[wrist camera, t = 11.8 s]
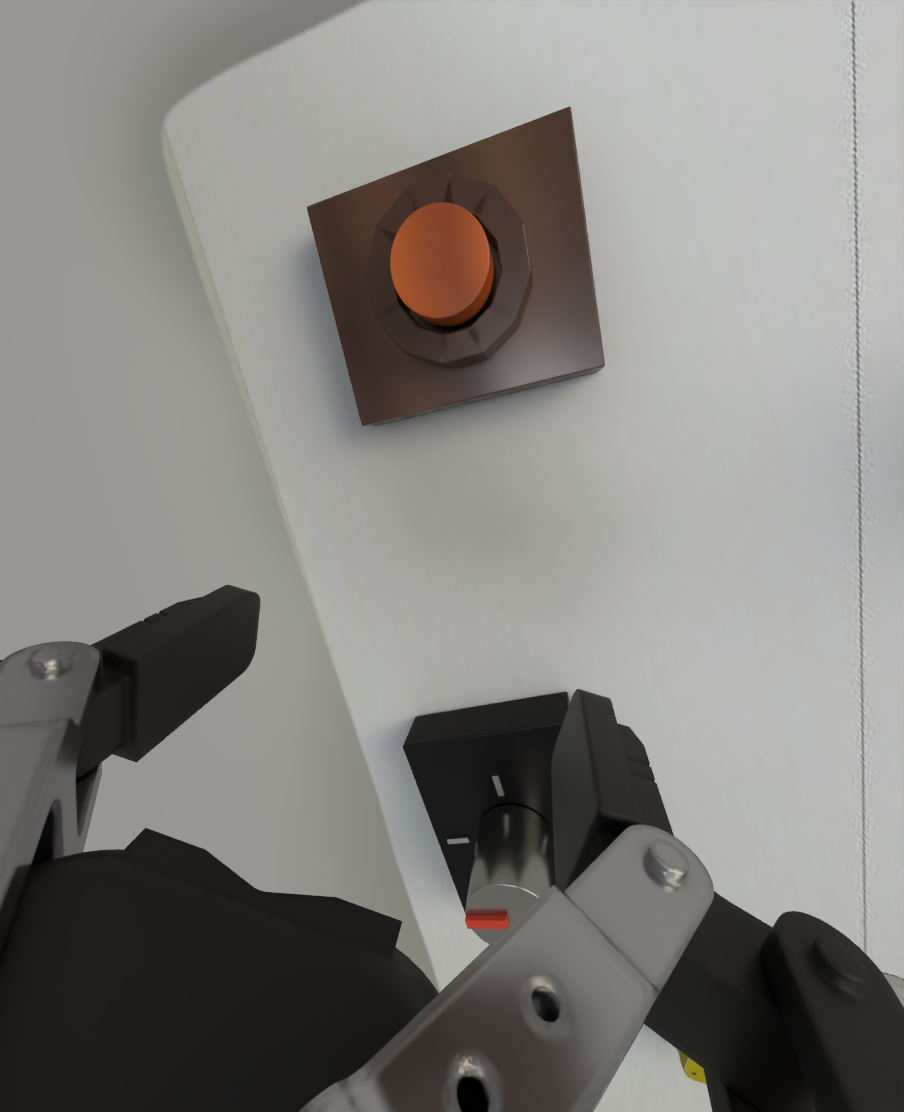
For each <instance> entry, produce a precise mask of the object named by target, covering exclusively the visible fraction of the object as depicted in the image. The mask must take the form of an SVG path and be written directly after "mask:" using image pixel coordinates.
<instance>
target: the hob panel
mask: <svg viewBox="0 0 904 1112" xmlns="http://www.w3.org/2000/svg"><path fill="white" fill-rule="evenodd" d="M569 705H570V700H569V697H568V693H567V692H563V693H557V694H551V695H545V696H539V697H533V698H527V699H521V700H515V701H509V702H503V703H497V704H491V705H485V706H479V707H473V708H467V709H461V710H455V711H449V712H443V713H437V714H431V715H425V716H419V717H416V718H415V720H414V722H413V724H412V727H411V729H410V731H409V733H408V736H407V738H406V740H405V743H404V745H403V749H404V751H405V754H406V757H407V759H408V762H409V765H410V767H411V770H412V773H413V775H414V778H415V781H416V783H417V786H418V789H419V791H420V794H421V797H422V799H423V802H424V805H425V807H426V810H427V813H428V815H429V818H430V821H431V823H432V826H433V829H434V831H435V834H436V836H437V839H438V842H439V844H440V847H441V850H442V852H443V855H444V858H445V860H446V863H447V866H448V868H449V871H450V874H451V876H452V879H453V882H454V884H455V887H456V890H457V892H458V895H459V898H460V900H461V903H462V906H463V908H464V911H465V914H466V910H465V908H466V902H467V895H468V889H469V883H470V877H471V870H472V864H473V858H474V852H475V846H476V839H477V833H478V827H479V823H480V820H481V819H482V817H483V816H484V815H485V814H486V813H487V812H488V811H489V810H491V809H493V808H495V807H498V806H502V805H517V806H522V807H525V808H528V809H530V810H532V811H534V812H535V813H537V814H538V815H539V816H541V817H542V818H543V819H544V821H545V822H546V823H547V825H548V826H549V828H550V830H551V834H552V847H553V885H555V860H554V834H553V808H552V783H551V764H552V757H553V752H554V748H555V744H556V741H557V738H558V735H559V733H560V730H561V727H562V724H563V722H564V719H565V716H566V713H567V710H568V708H569Z"/></svg>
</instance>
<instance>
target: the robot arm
mask: <svg viewBox="0 0 904 1112" xmlns="http://www.w3.org/2000/svg"><path fill="white" fill-rule="evenodd" d="M259 612H260V597H259V595H258V594H257V593H255V592H251V591H248V590H244V589H241V588H238V587H234V586H231V585H226V586H223V587H221V588H219V589H217V590H216V591H213V592H211V593H209V594H208V595H206V596H204V597H200V598H195V599H191V600H187V601H182V602H178V603H176V604H174V605H172V606H170V607H168V608H166V609H164V610H162V611H160V612H159V614H157V613H156V614H153V615H151V616H149V617H148V618H145V619H144V621H139V622H137V623H135V624H133V625H131V626H129V627H127V628H125V629H123V630H121V631H119V632H117V633H115V634H113V635H111V636H109V637H107V638H104V639H103V640H101V641H98V642H96V643H94V644H92V645H88V644H84V643H80V642H70V641H60V642H49V643H43V644H38V645H34V646H30V647H27V648H24V649H21V650H19V651H17V652H15V653H13V654H11V655H10V656H8V657H6V658H5V659H4V660H0V1112H594V1110H595V1108H596V1106H597V1105H598V1103H599V1101H600V1099H601V1098H602V1096H603V1094H604V1092H605V1091H606V1089H607V1087H608V1085H609V1084H610V1082H611V1080H612V1078H613V1077H614V1075H615V1073H616V1071H617V1070H618V1068H619V1066H620V1064H621V1063H622V1061H623V1059H624V1057H625V1056H626V1054H627V1052H628V1050H629V1049H630V1047H631V1045H632V1043H633V1042H634V1040H635V1038H636V1036H637V1035H638V1033H639V1031H640V1029H641V1028H642V1026H643V1024H645V1025H646V1026H648V1027H649V1028H650V1029H652V1030H653V1031H654V1032H656V1033H657V1034H658V1035H660V1036H661V1037H662V1038H664V1039H665V1040H666V1041H668V1042H669V1043H670V1044H672V1045H673V1046H674V1047H676V1048H677V1049H678V1050H680V1051H681V1052H682V1053H684V1054H685V1055H686V1056H688V1057H689V1058H690V1059H692V1060H693V1061H694V1062H695V1063H697V1064H698V1065H699V1066H701V1067H702V1068H703V1069H704V1074H705V1079H706V1083H707V1088H708V1093H709V1097H710V1102H711V1107H712V1111H713V1112H904V1007H903V1005H902V1004H901V1002H900V1000H899V999H898V997H897V995H896V993H895V992H894V990H893V988H892V987H891V985H890V984H889V982H888V981H887V979H886V978H885V976H884V975H883V974H882V972H881V971H880V970H879V968H878V967H877V966H876V965H875V964H874V963H873V961H872V960H871V959H870V958H869V957H868V956H867V955H866V954H865V953H864V952H863V951H862V950H861V949H860V948H859V947H858V946H857V945H855V944H854V943H853V942H852V941H851V940H850V939H849V938H847V937H846V936H845V935H843V934H842V933H841V932H839V931H838V930H836V929H835V928H833V927H832V926H830V925H829V924H827V923H825V922H824V921H822V920H820V919H818V918H816V917H813V916H811V915H808V914H805V913H802V912H796V911H791V912H786V913H783V914H782V915H781V916H780V917H779V918H778V920H777V921H776V923H775V924H774V926H773V927H771V926H769V925H767V924H766V923H764V922H762V921H761V920H759V919H757V918H756V917H754V916H752V915H751V914H749V913H747V912H746V911H744V910H742V909H741V908H739V907H737V906H736V905H734V904H732V903H730V902H729V901H727V900H726V899H724V898H723V897H721V896H720V895H719V894H717V893H716V892H715V891H714V888H713V883H712V880H711V877H710V875H709V873H708V871H707V869H706V868H705V866H704V865H703V863H702V862H701V861H700V859H699V858H698V857H697V856H696V855H695V854H694V853H693V852H692V850H691V849H690V848H688V847H687V846H686V845H685V844H684V843H683V842H681V841H680V840H679V839H677V838H676V837H674V835H673V832H672V829H671V826H670V823H669V820H668V817H667V814H666V811H665V808H664V805H663V802H662V799H661V796H660V793H659V790H658V787H657V784H656V783H655V782H654V780H655V778H654V775H653V772H652V769H651V767H649V764H650V763H649V760H648V757H647V754H646V751H645V748H644V745H643V744H642V742H641V741H640V740H639V739H638V737H637V736H636V735H635V734H634V732H633V731H632V730H631V729H630V727H627V726H624V725H621V724H617V721H616V717H615V714H614V710H613V706H612V702H611V700H610V699H609V698H607V697H603V696H600V695H597V694H593V693H590V692H586V691H583V690H580V689H577V690H576V691H575V693H574V694H573V697H572V699H571V702H570V705H569V708H568V710H567V713H566V716H565V719H564V722H563V724H562V727H561V730H560V733H559V735H558V738H557V741H556V744H555V748H554V752H553V757H552V764H551V783H552V808H553V834H554V860H555V885H553V886H552V887H550V888H549V889H547V890H546V891H545V892H544V893H543V894H542V895H541V896H540V897H539V898H538V899H537V900H536V901H535V902H534V903H533V904H532V905H531V906H529V907H528V908H527V909H526V910H525V911H524V912H523V913H522V914H521V915H520V916H519V917H518V918H517V919H516V920H515V921H514V922H513V923H512V924H511V925H510V926H509V927H508V928H507V929H506V930H505V931H503V932H502V933H501V934H500V935H499V936H498V937H497V938H496V939H495V940H494V941H493V942H492V943H491V944H490V945H489V946H488V947H487V948H486V949H485V950H484V951H483V952H482V953H481V954H480V955H479V956H477V957H476V958H475V959H474V960H473V961H472V962H471V963H470V964H469V965H468V966H467V967H466V968H465V969H464V970H463V971H462V972H461V973H460V974H459V975H458V976H457V977H456V978H455V979H454V980H453V981H452V982H450V983H449V984H448V985H447V986H446V987H445V988H444V989H443V990H442V991H441V992H440V993H438V991H437V990H436V988H435V987H434V985H433V984H432V983H431V982H430V980H429V979H428V978H427V977H426V975H425V974H424V973H423V972H422V971H421V970H420V969H419V968H418V967H417V966H416V965H415V964H414V963H413V962H412V961H411V960H410V959H409V958H408V957H407V956H406V955H405V954H403V953H402V952H401V951H399V950H398V949H397V948H396V947H395V946H396V942H397V938H398V935H399V931H400V927H401V924H402V921H400V920H397V919H394V918H391V917H388V916H386V915H383V914H380V913H378V912H375V911H372V910H369V909H366V908H364V907H361V906H358V905H356V904H353V903H350V902H348V901H345V900H342V899H339V898H336V897H325V896H312V895H299V894H286V893H273V892H264V891H260V890H257V889H255V888H254V887H252V886H251V885H250V884H249V883H247V882H246V881H245V880H243V879H242V878H241V877H240V876H238V875H237V874H236V873H235V872H233V871H232V870H231V869H229V868H228V867H227V866H226V865H224V864H223V863H222V862H220V861H219V860H218V859H217V858H215V857H214V856H213V855H212V854H210V853H209V852H208V851H206V850H205V849H202V848H199V847H196V846H194V845H191V844H188V843H186V842H183V841H180V840H177V839H175V838H172V837H169V836H166V835H164V834H161V833H158V832H155V831H153V830H150V829H147V828H145V829H144V830H143V831H142V832H141V833H140V834H139V835H138V836H137V837H136V838H135V839H134V840H133V841H132V842H131V843H130V845H128V846H127V848H126V849H125V850H120V849H118V850H99V851H91V852H84V853H83V850H84V846H85V842H86V838H87V833H88V829H89V825H90V821H91V817H92V812H93V808H94V804H95V800H96V796H97V792H98V788H99V783H100V779H101V775H102V761H104V760H105V759H106V758H108V757H109V756H110V755H111V754H114V755H117V756H120V757H123V758H125V759H128V760H131V761H134V762H137V761H139V760H140V759H141V758H142V757H143V756H145V755H146V754H147V753H148V752H149V751H150V750H151V749H153V748H154V747H155V746H156V745H158V744H159V743H160V742H161V741H162V740H164V739H165V738H166V737H167V736H168V735H170V734H171V733H172V732H173V731H174V730H175V729H177V728H178V727H179V726H180V725H181V724H183V723H184V722H185V721H186V720H187V719H189V718H190V717H191V716H192V715H193V714H195V713H196V712H197V711H198V710H199V709H201V708H202V707H203V706H204V705H205V704H207V703H208V702H209V701H210V700H211V699H212V698H214V697H215V696H216V695H217V694H218V693H219V692H221V691H222V690H223V689H224V688H226V687H227V686H228V685H229V684H230V683H232V682H233V681H234V680H235V679H236V678H237V677H239V676H240V675H241V674H242V673H243V672H244V671H245V670H246V669H247V668H248V666H249V665H250V663H251V661H252V659H253V656H254V653H255V649H256V640H257V631H258V621H259Z"/></svg>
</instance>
